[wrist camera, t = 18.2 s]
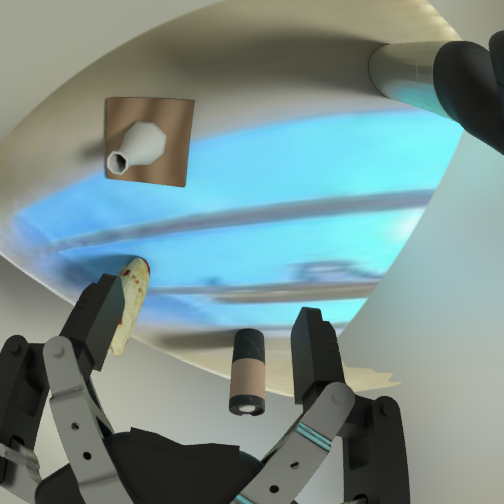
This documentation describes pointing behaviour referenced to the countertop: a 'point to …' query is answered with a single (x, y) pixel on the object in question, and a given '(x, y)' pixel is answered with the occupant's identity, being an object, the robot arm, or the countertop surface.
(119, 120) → the walnut board
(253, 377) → the travel mug
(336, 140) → the countertop surface
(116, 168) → the flask
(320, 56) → the countertop surface
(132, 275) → the food model
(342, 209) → the countertop surface
